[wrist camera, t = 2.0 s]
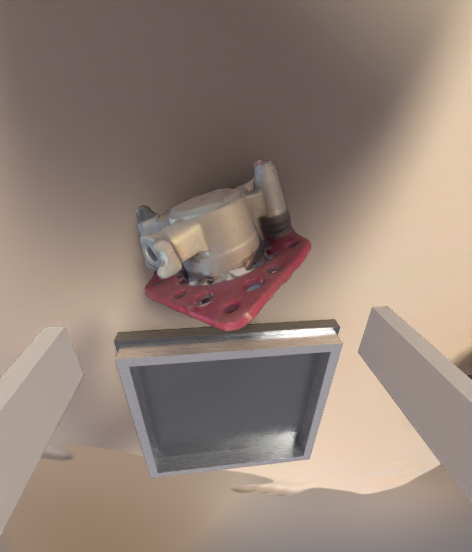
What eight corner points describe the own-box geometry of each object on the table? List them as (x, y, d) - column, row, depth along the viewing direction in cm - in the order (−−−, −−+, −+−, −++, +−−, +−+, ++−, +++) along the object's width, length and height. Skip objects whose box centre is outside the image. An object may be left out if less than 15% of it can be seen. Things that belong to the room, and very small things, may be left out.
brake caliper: (185, 337, 22) (106, 369, 10) (156, 224, 24) (60, 140, 12) (308, 301, 22) (371, 292, 10) (270, 188, 24) (287, 66, 12)
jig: (118, 332, 24) (107, 355, 22) (334, 319, 26) (348, 339, 24) (151, 454, 35) (147, 480, 32) (304, 437, 37) (312, 460, 34)
